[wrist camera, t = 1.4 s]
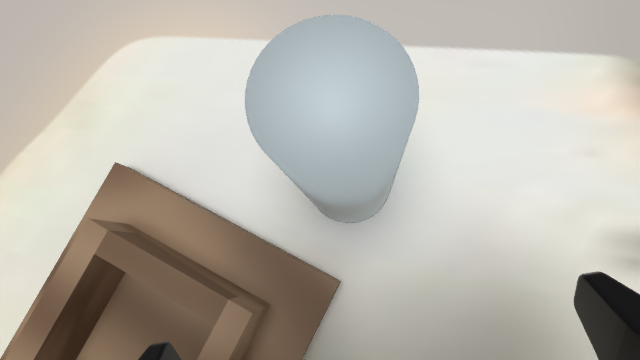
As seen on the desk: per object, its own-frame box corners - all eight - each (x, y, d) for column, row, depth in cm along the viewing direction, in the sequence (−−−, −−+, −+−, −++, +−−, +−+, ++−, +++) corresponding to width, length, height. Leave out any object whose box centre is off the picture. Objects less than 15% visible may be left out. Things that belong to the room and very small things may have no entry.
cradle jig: (213, 536, 21) (167, 619, 16) (1, 389, 24) (-94, 423, 19) (340, 281, 23) (333, 287, 18) (129, 167, 25) (73, 146, 20)
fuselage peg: (367, 237, 23) (369, 211, 10) (295, 200, 24) (214, 134, 11) (404, 164, 24) (448, 54, 11) (331, 130, 24) (294, -10, 12)
